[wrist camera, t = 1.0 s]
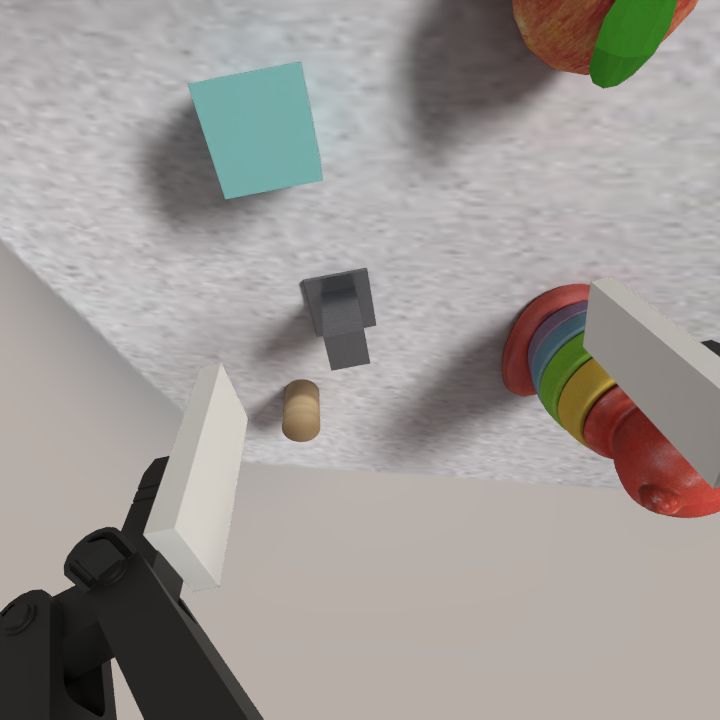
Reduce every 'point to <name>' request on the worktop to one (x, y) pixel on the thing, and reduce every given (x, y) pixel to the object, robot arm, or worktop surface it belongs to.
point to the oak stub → (301, 411)
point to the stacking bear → (599, 406)
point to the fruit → (598, 33)
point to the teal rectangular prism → (259, 129)
